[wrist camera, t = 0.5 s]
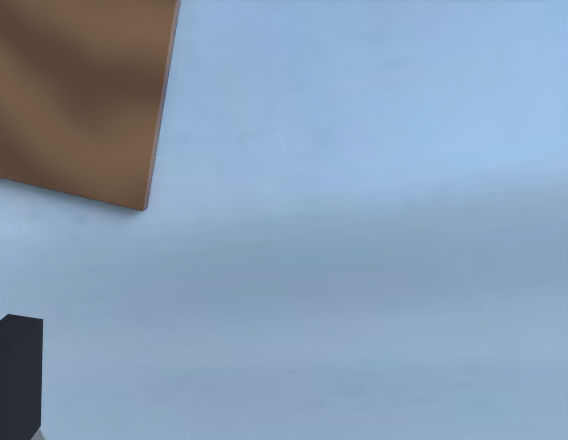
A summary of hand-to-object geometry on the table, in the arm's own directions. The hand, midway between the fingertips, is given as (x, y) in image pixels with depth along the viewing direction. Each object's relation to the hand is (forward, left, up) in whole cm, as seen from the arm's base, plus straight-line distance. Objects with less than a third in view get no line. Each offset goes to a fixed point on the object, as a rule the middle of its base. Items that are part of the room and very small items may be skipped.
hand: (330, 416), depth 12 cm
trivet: (-6, -20, -27) cm, 34 cm away
